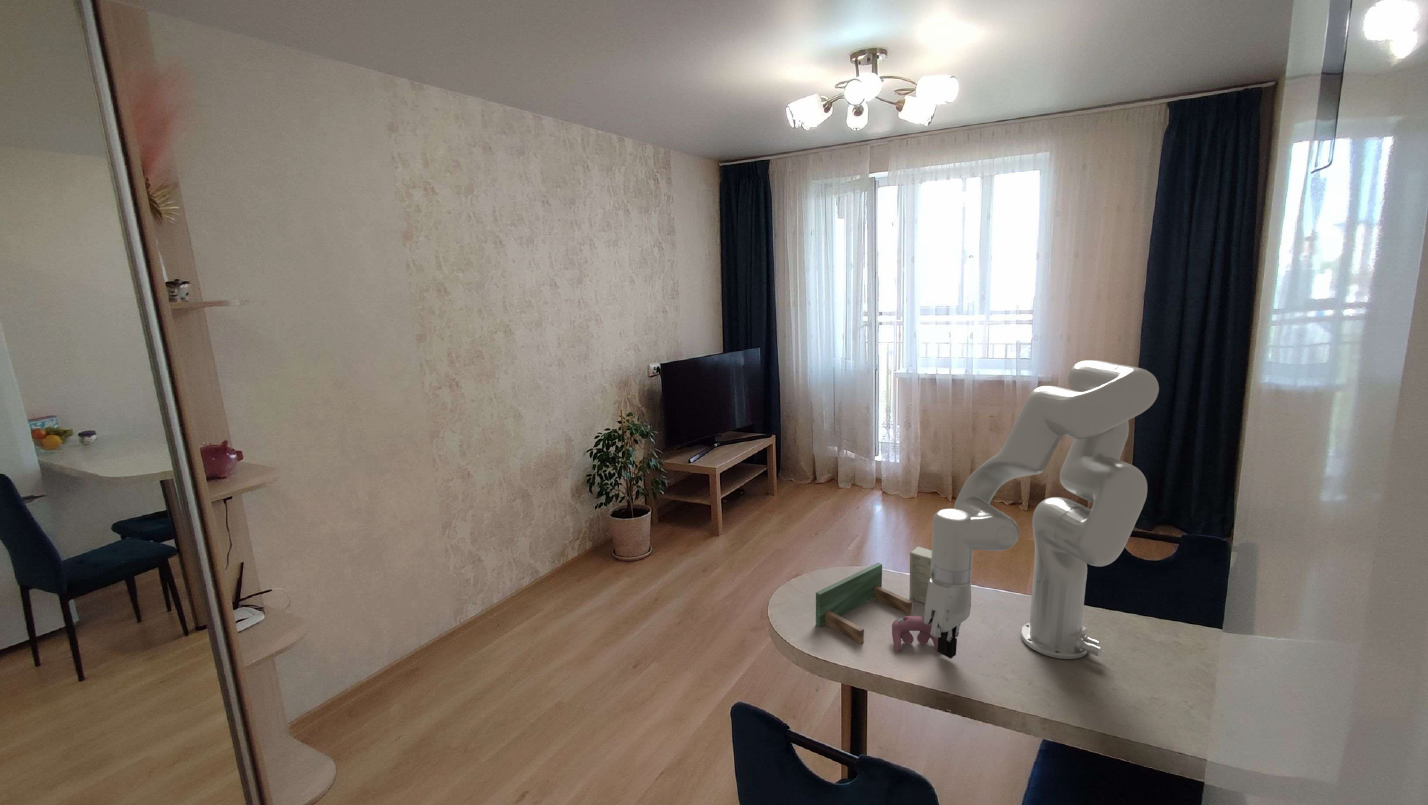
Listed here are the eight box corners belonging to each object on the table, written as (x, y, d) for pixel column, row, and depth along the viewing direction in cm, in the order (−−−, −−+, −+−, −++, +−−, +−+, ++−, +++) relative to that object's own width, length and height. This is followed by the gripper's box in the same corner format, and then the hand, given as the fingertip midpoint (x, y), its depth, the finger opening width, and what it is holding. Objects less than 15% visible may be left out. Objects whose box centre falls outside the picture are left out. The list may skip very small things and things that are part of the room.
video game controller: (938, 650, 134) (935, 615, 136) (943, 653, 129) (940, 617, 131) (891, 649, 135) (889, 615, 137) (895, 652, 130) (892, 616, 132)
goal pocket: (916, 610, 146) (917, 579, 145) (854, 646, 133) (855, 612, 132) (877, 592, 155) (878, 562, 153) (815, 624, 142) (815, 592, 140)
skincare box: (941, 599, 151) (943, 552, 148) (932, 607, 148) (934, 559, 145) (916, 591, 155) (918, 545, 153) (907, 597, 152) (909, 551, 150)
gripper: (954, 553, 132) (950, 632, 135) (912, 576, 123) (908, 660, 126) (988, 566, 126) (983, 648, 130) (946, 591, 117) (942, 678, 121)
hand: (946, 653), depth 128 cm, fingers closed
